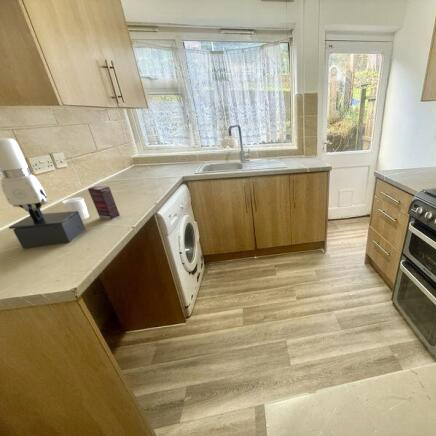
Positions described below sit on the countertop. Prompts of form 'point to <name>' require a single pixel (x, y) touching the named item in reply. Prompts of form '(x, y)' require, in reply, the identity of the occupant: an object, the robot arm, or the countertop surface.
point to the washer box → (50, 233)
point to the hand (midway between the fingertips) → (38, 218)
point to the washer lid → (45, 220)
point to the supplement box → (104, 202)
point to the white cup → (76, 206)
